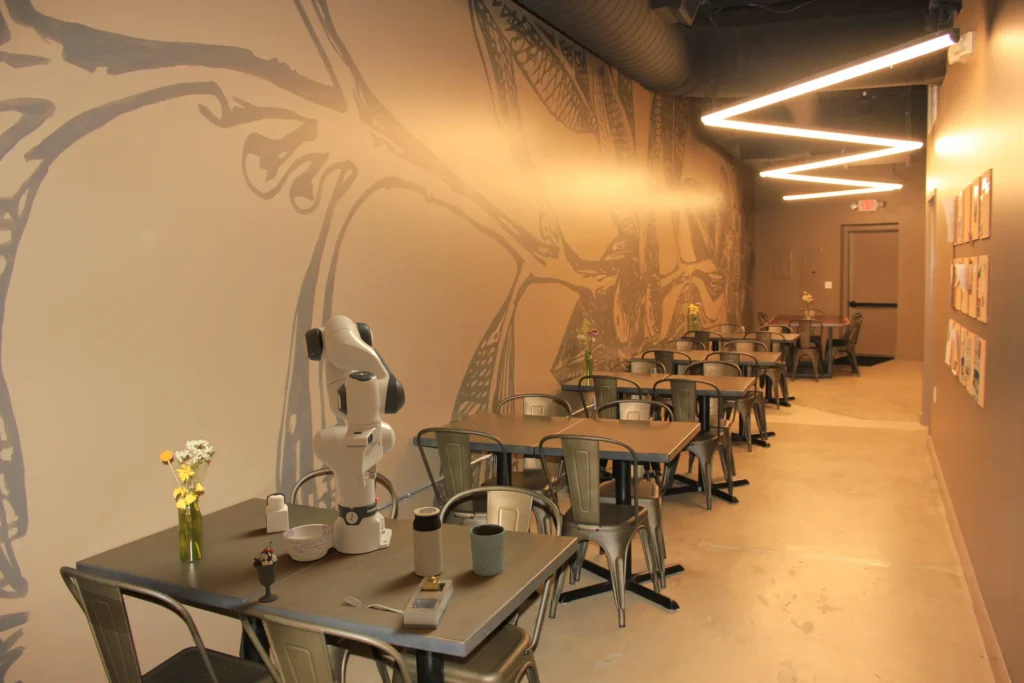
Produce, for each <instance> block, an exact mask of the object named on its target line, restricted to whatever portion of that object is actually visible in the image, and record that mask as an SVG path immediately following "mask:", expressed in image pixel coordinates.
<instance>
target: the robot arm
mask: <svg viewBox="0 0 1024 683" xmlns="http://www.w3.org/2000/svg"><path fill="white" fill-rule="evenodd" d="M303 336H304V337H303V340H302V347H303V348H302V349H303V351H304V353H305V355H306V357H307V358H308V359H309V360H310V361H315V362H321V361H327V362H326V364H325V385H326V390H327V397H328V404H329V408H330V411H331V413H332V414H333V415H334V416H335V417H336V418H338V419H342V420H344V421H346V422H347V424H345V425H344V424H343V425H342V424H341V425H334V426H329V427H327V428H326V427H324V428H323V429H320V430H318V431H316V433H315V434H314V436H313V438H312V441H311V449H312V450H311V451H312V452H313V454H314V456H315V457H316V459H317V460H319V461H320V462H321V463H323V464H324V465H326V466H327V467H328V468H329V469H330V470H331V472H332V473H333V476H335V479H336V482H337V484H336V485H337V490H338V491H337V492H338V504H337V505H338V506H337V512H338V513H337V514H338V517H337V518H336V520H335V521H334V529H333V536H334V545H333V546H332V547H331V548H333V549H336V551H338V552H340V553H342V554H353V555H355V554H366V553H369V552H373V551H377V550H379V549H385V548H388V547H389V546H390V542H391V538H392V534H393V530H392V529H391V528H387V527H386V526H385V525H386V524H385V517H384V516H383V515H382V514H381V513H380V512H379V509H378V506H379V505H378V503H379V497H376V492H375V488H376V487H375V479H376V478H377V469H378V462H380V460H382V459H383V457H384V455H386V454H388V453H391V452H392V450H394V447H395V444H396V434H395V431H394V429H393V427H392V425H390V424H389V423H387V422H385V421H383V420H382V419H381V414H382V415H383V414H384V415H396V414H397V413H398V412H400V410H401V409H402V408H403V406H404V405H405V404H406V403H405V402H406V393H405V389H404V388H405V387H404V386H403V384H402V382H400V380H399V379H398V378H396V376H395V375H394V373H393V372H392V370H391V368H390V367H389V365H388V364H387V363H386V361H385V359H384V358H383V356H382V355H381V353H380V352H379V350H377V349H376V348H375V347H373V345H374V335H373V331H372V330H371V327H370V326H369V325H368V324H367V323H366V322H355V323H354V322H353V320H352V319H351V318H350V317H348V316H346V315H342V314H339V315H334V316H332V317H330V318H328V320H327V321H326V322H325V324H324V326H322V327H319V328H317V327H313V328H311V329H308V330H307V331H306V332H305V334H304V335H303ZM368 470H369V471H368Z"/></svg>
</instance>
